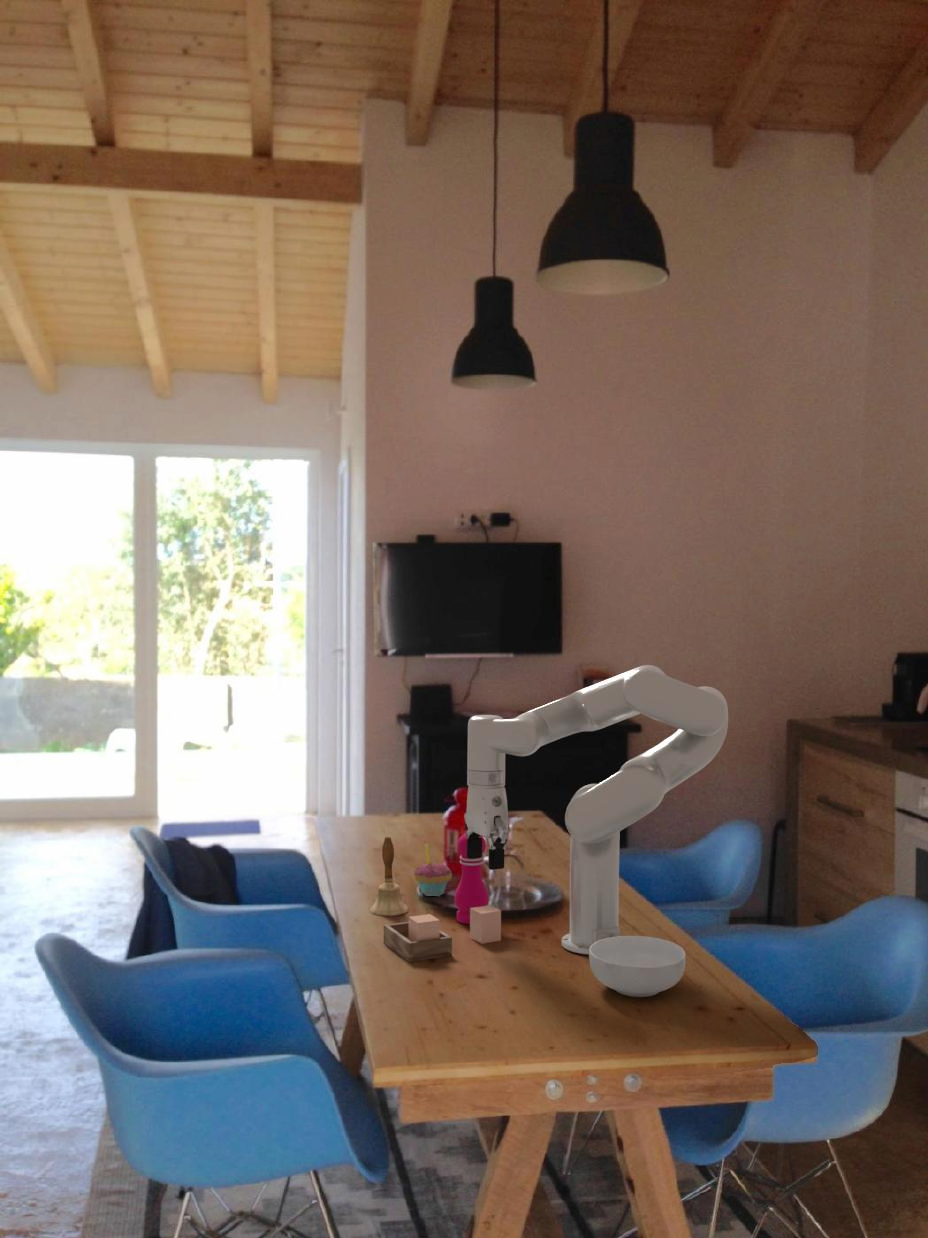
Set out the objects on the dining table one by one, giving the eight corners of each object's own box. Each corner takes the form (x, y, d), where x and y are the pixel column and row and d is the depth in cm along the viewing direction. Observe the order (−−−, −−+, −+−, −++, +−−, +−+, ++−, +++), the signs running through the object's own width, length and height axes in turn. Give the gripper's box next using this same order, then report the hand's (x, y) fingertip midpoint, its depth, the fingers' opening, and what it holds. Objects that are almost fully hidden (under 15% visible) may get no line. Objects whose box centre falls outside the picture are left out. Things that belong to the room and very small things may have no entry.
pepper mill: (485, 926, 247) (485, 830, 247) (451, 924, 249) (451, 828, 248) (491, 916, 255) (491, 822, 254) (458, 914, 256) (458, 821, 255)
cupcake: (408, 897, 270) (408, 844, 269) (423, 887, 278) (423, 836, 277) (443, 901, 266) (443, 847, 266) (457, 891, 274) (458, 839, 274)
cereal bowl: (570, 983, 213) (570, 943, 213) (644, 968, 222) (644, 930, 221) (628, 1013, 199) (628, 971, 198) (705, 996, 207) (706, 956, 206)
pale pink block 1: (439, 951, 228) (439, 920, 228) (417, 954, 226) (417, 923, 226) (430, 944, 232) (429, 914, 232) (408, 947, 231) (408, 917, 230)
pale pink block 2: (501, 940, 238) (501, 910, 238) (481, 944, 236) (481, 913, 236) (489, 934, 242) (489, 905, 242) (470, 938, 240) (470, 908, 239)
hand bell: (379, 918, 253) (379, 843, 253) (363, 908, 261) (363, 835, 260) (414, 913, 257) (414, 839, 256) (398, 903, 264) (398, 831, 264)
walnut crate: (451, 955, 228) (451, 937, 228) (409, 962, 225) (409, 943, 224) (424, 937, 240) (424, 919, 240) (383, 942, 236) (383, 925, 236)
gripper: (523, 783, 231) (522, 871, 232) (483, 769, 247) (482, 852, 248) (488, 786, 228) (487, 875, 229) (450, 772, 244) (449, 855, 244)
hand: (485, 863), depth 238 cm, fingers open, 9 cm apart
